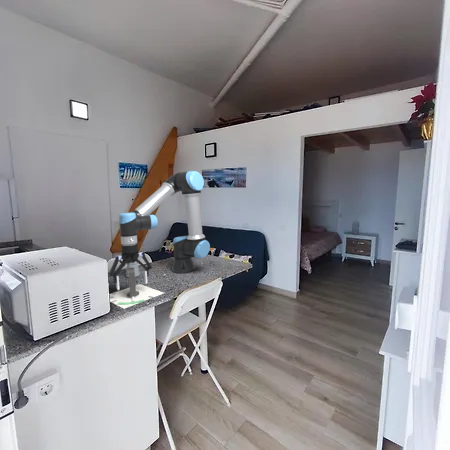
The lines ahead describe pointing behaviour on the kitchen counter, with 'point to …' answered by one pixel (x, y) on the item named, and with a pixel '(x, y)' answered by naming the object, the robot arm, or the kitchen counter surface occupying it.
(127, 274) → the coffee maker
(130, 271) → the grey piece
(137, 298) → the board
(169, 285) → the kitchen counter surface
